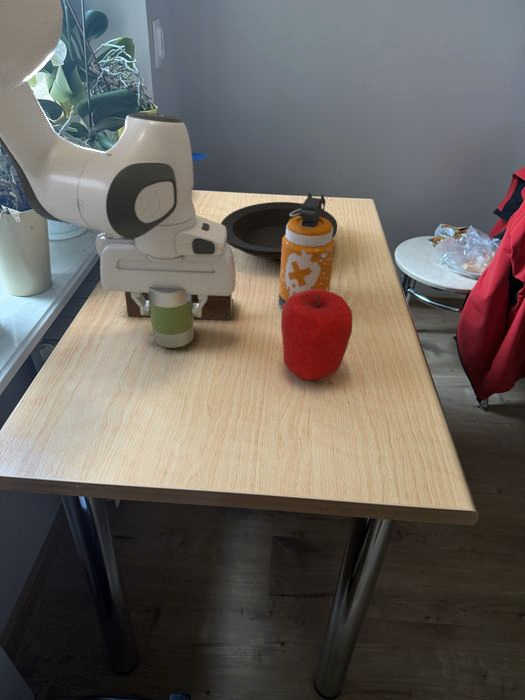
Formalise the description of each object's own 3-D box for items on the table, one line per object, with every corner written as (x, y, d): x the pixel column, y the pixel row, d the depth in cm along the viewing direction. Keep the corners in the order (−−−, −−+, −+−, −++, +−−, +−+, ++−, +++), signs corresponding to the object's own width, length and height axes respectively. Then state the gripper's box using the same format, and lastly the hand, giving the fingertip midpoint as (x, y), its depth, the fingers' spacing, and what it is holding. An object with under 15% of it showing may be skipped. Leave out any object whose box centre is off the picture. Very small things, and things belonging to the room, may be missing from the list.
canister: (272, 312, 95) (278, 204, 83) (288, 284, 103) (295, 182, 92) (321, 321, 93) (334, 211, 81) (333, 292, 101) (346, 189, 90)
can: (161, 352, 83) (155, 297, 77) (147, 330, 88) (141, 277, 82) (200, 341, 86) (198, 287, 80) (185, 321, 90) (181, 268, 85)
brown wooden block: (127, 316, 92) (122, 280, 88) (134, 300, 97) (130, 265, 93) (230, 320, 92) (230, 285, 88) (233, 304, 97) (233, 269, 93)
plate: (295, 289, 102) (297, 263, 98) (195, 257, 112) (194, 232, 108) (353, 240, 121) (357, 216, 118) (264, 216, 131) (265, 194, 128)
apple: (330, 401, 76) (341, 321, 68) (266, 379, 79) (269, 301, 71) (353, 362, 84) (366, 286, 76) (294, 344, 87) (300, 269, 79)
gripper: (86, 239, 74) (101, 322, 82) (233, 245, 74) (233, 328, 82) (99, 221, 79) (112, 301, 87) (236, 227, 79) (236, 306, 87)
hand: (172, 314), depth 84 cm, fingers closed on can, 7 cm apart
